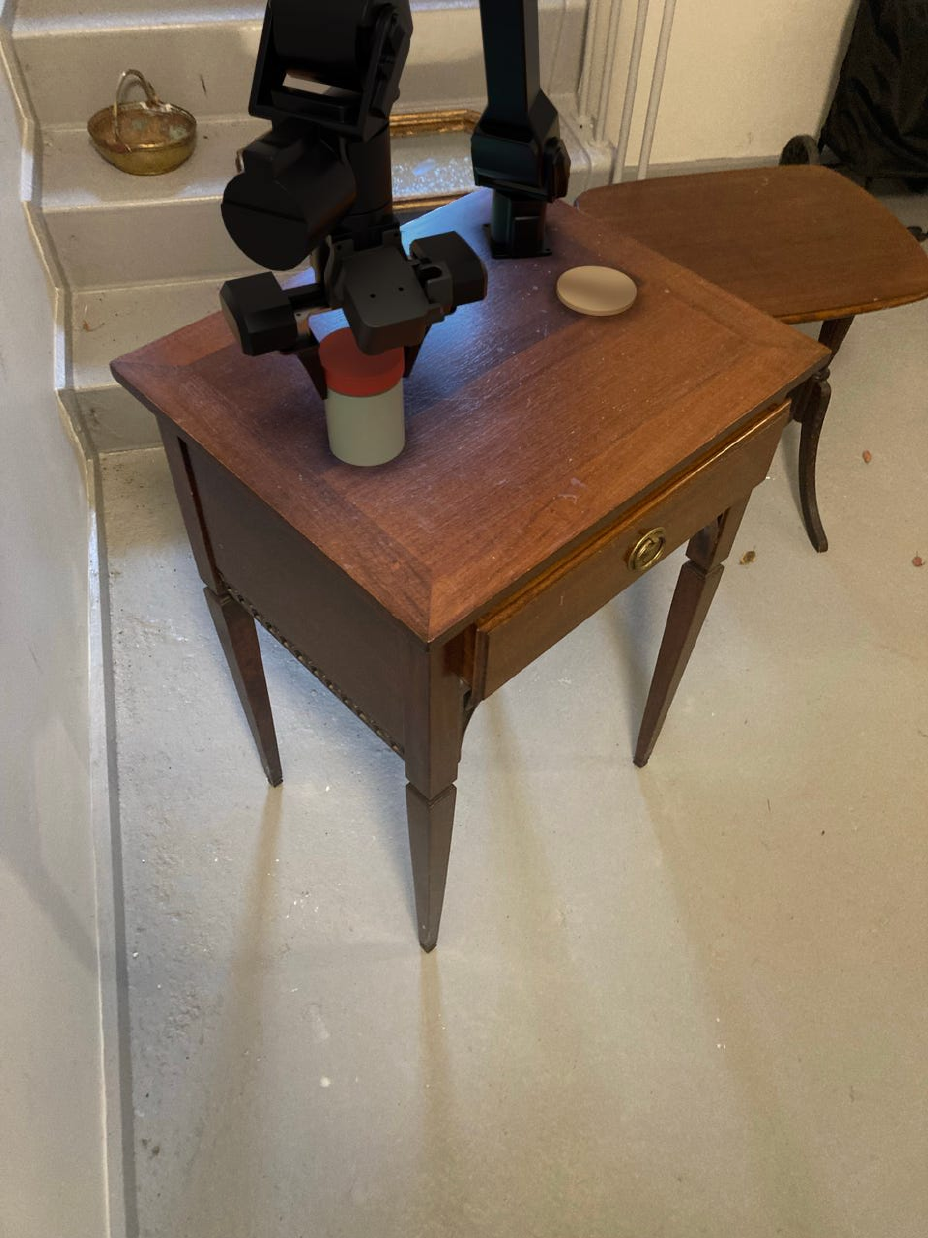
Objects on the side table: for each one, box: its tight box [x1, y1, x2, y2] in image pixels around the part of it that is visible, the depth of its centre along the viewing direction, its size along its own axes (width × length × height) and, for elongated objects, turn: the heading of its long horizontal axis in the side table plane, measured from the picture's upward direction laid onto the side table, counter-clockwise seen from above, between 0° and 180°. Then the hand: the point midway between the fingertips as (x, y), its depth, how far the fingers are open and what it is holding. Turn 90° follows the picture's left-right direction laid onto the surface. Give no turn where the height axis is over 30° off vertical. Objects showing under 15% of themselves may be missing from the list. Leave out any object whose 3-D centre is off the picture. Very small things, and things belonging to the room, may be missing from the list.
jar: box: [323, 376, 406, 467], centre depth 75 cm, size 6×6×8 cm
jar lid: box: [318, 325, 405, 396], centre depth 72 cm, size 7×7×2 cm
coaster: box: [555, 265, 638, 317], centre depth 93 cm, size 8×8×1 cm
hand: (363, 386), depth 74 cm, fingers closed on jar lid, 6 cm apart
